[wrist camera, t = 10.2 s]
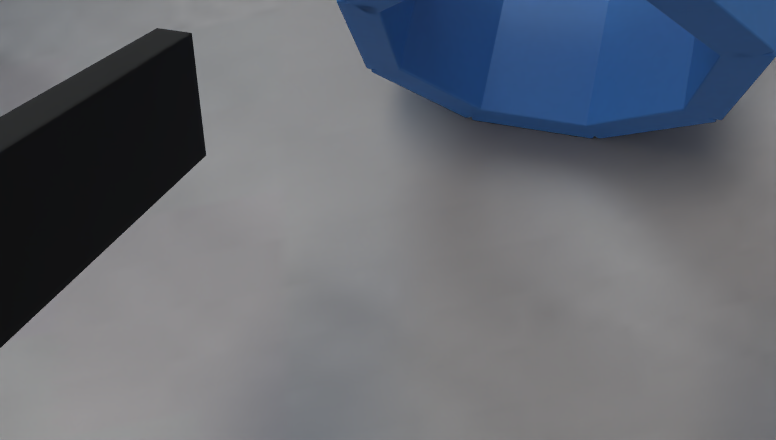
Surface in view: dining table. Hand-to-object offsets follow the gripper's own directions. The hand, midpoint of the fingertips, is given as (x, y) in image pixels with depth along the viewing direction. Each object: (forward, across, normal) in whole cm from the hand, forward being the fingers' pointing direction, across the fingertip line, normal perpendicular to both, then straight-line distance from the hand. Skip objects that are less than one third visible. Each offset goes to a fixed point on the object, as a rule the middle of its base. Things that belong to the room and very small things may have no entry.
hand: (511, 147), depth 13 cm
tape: (+13, 0, -3) cm, 14 cm away
